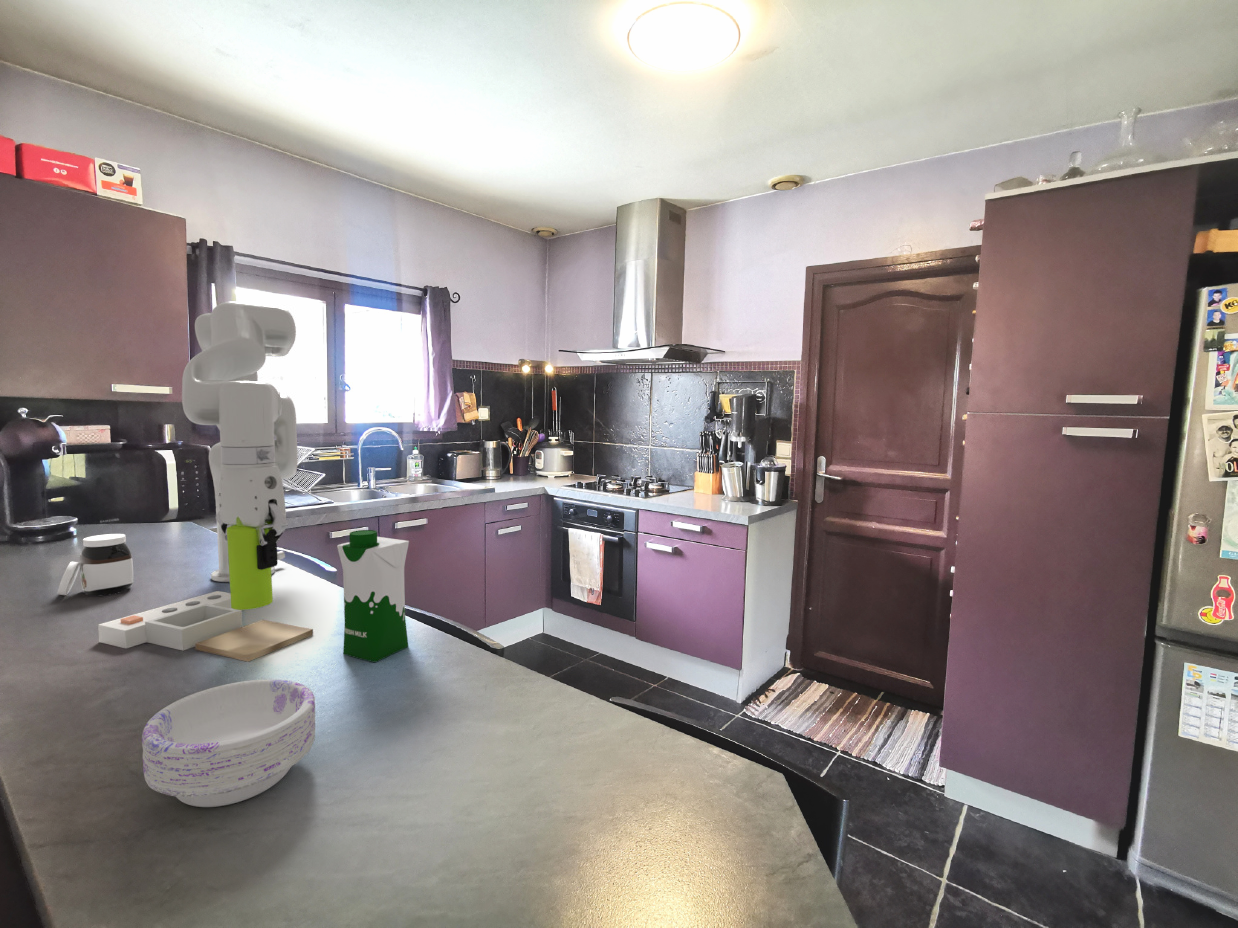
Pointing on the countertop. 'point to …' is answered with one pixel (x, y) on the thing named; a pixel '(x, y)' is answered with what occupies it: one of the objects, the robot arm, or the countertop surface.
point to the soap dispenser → (247, 569)
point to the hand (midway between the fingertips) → (253, 564)
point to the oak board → (254, 640)
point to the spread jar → (101, 566)
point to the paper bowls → (228, 741)
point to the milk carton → (373, 595)
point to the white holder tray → (175, 623)
